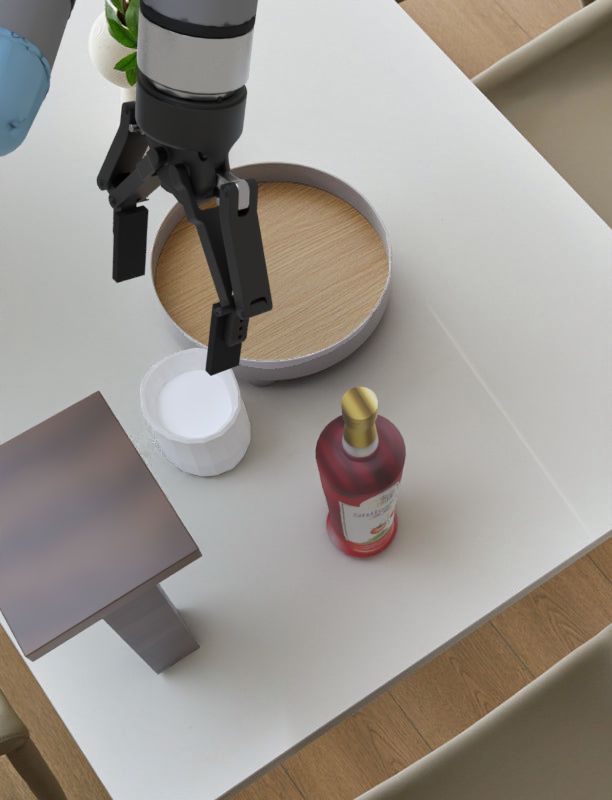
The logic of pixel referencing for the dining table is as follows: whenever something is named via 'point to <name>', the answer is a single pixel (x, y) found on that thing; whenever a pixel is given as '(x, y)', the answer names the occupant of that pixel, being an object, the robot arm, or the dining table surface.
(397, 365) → the dining table surface
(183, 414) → the cup
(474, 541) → the dining table surface
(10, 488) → the wooden pedestal stand
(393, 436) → the liquor
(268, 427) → the dining table surface
